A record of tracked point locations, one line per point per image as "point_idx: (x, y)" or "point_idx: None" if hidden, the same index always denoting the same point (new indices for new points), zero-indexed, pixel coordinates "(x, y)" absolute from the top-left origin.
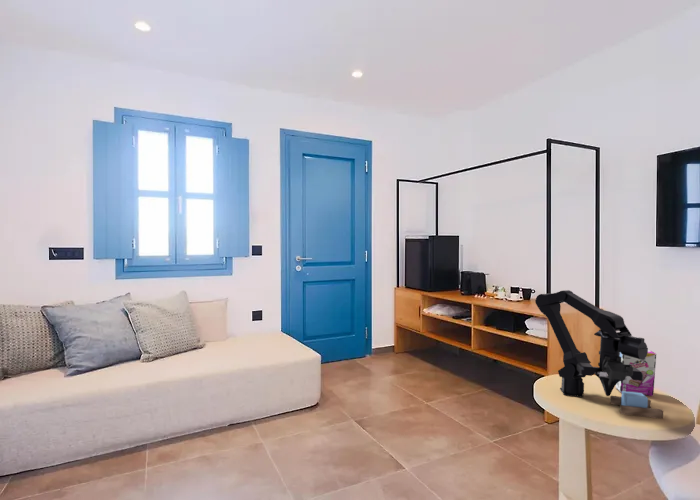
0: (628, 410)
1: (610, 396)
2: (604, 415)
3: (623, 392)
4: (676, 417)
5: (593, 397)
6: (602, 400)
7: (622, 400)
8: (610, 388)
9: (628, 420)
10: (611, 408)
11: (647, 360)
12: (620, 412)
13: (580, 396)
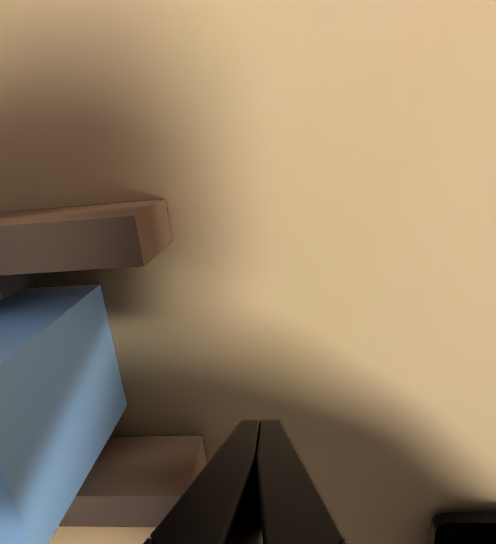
0: (73, 213)
1: None
2: (384, 64)
3: (17, 519)
4: None
5: None
6: None
7: (88, 434)
8: (220, 521)
9: (127, 11)
10: (232, 324)
11: None
12: (168, 224)
13: (469, 514)
